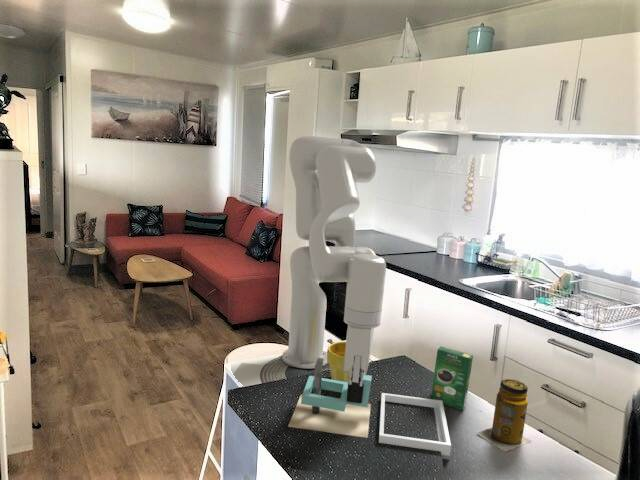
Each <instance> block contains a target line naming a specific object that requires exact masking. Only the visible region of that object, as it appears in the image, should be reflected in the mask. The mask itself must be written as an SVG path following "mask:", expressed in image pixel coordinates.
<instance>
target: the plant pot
mask: <svg viewBox="0 0 640 480" xmlns="http://www.w3.org/2000/svg"><path fill="white" fill-rule="evenodd" d="M345 346H346V341H337V342H336V341H335V342H332V343H331V344H330V345H329V346H328V347H327V349H326V350H327V351H326V354H327V364H328V365H329V371H330V378H331V380H337V381H343V382H348V383H349V377H350V371H349V372H346V373H344V371H343V366H344V357H345Z"/></svg>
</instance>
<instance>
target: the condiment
mask: <svg viewBox="0 0 640 480" xmlns="http://www.w3.org/2000/svg"><path fill="white" fill-rule="evenodd" d="M528 389H529V388H528V386H527V385H526V384H525V383H523V382H522V381H520V380H516V379H510V378H507V379H502V380H501V382H500V387H499V389H498V392H497V394H496V399H495V407H494V412H493V420H492V427H490V428H486V429H484V430H482V431H481V430H480V431H478V432H476V434H477V435H479V437H481V438H482V439H484V440H485V441H487V442H489V443H490V444H492V445H493V446H495V447H496V448H499V450H502V451H504V452H508V451H511V450H513V449H515V448H517V447H521V446H523V445H526V444H527V443H530V442H531V441H532V440H530V439H528V438H526V437H525V436H524V429H525V425H526V424H525V423H526V415H527V410H528V403H529V402H528V398H527V397H528Z"/></svg>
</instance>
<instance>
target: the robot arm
mask: <svg viewBox="0 0 640 480" xmlns="http://www.w3.org/2000/svg"><path fill="white" fill-rule="evenodd" d="M288 157H289V167H290V172H291V175H292V178H293V183H294V186H295V187H294V188H295V228H296V229H295V230H296V234H297V236H298V238H299V239H301V240H304V241H307V242H308V245H307V246H305V245H304V246H301V247H298V248H295V249H294V250H293V252H291V255H290V257H289V258H290V259H289V260H290V261H289V268H290V277H291V300H290V302H291V303H290V316H289V318H290V319H289V332H288V333H289V335H288V349H286V350H284V351H283V352H282V357H281V358H282V361H283V362H284V363H285V364H286V365H288V366H290V367H293V368H297V369H305V370H308V369H309V370H310V369H314V367H315V365H316V362H317V359H318V358H323V359H324V360H323V366H322V367H324V366H326V364H328V362H327V352H325V351H324V343H325V329H326V327H325V326H326V315H327V314H326V312H327V304H328V303H327V295H326V293H325V292H324V290H323V289H322V288H321V287H320V285H319V284H320V283H341V282H342V283H344V282H345V283H346V290H345V301H344V312H343V313H344V314H343V322H344V323H345V324H347V330H346V336H345V338H346V339H345V342H346V346H345V357H344V366H343V371H344V373H346V372H349V371H350V377H349V378H350V379H349V383H348V390H347V401H348V402H353V403H362V397H363V387H364V385H362V384H363V375H368V374H367V372H368V368H369V365H370V359H371V354H372V353H371V352H372V348H373V341H374V332H375V331H374V329H375V328H378V327H380V326H381V321H382V311H383V303H384V301H383V300H384V293H385V281H386V274H387V273H386V272H387V262H386V261H385V259H384V258H383V257H381V256H379V255H377V254H376V253H375V252H374V250H373V249H372V248H369V247H367V246H356V220H355V215H354V214H353V213H355V212H357V210H358V209H359V207H360V204H361V203H360V197H359V192H358V188H357V183H360V184H363V183H364V184H368V183H369V182H371V181H372V180H373V179H374V178H375V176H376V171H377V163H376V158H375V156H374V154H373V152H372V151H371V149H370V148H368V147H367V146H365V145H364V144H361V143H359V142H357V141H356V140H353V139H347V138H339V137H338V138H337V137H325V136H310V135H307V136H300V137H297V138H296V139H294V140H293V142H292V143H291V145H290V149H289V156H288ZM327 242H333V243H334V245H333V246H328V245H327ZM359 375H361V378H360V377H359Z"/></svg>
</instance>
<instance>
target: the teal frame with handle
mask: <svg viewBox="0 0 640 480" xmlns="http://www.w3.org/2000/svg"><path fill="white" fill-rule="evenodd" d="M359 377H360V378H361V375H359ZM349 379H350V378H349ZM306 381H307V382H306V384H305V387H304V389H303V391H302V394H301V395H302V400H301V404H305V405H310V406H316V407H321V408H327V409H332V410H338V411H343V412H345V406H346V404H350V405H356V406H361V407H368V404H369V399H370V398H369V397H370V392H371V385H372V375H369V374H365V375H363V384H362V385H364V387H363V397H362V403H353V402H348V401H347V390H348V382H343V381H337V380H332V379H329V378H323V377H322V383H321V390H325V391H330V392H336V393H341V395H340V398H338V397H337V398H336V397H333V396H328V395H327V396H326V395H316V394H313V393H312V392H313V388H314V375H309V376H308V378H307V380H306Z"/></svg>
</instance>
